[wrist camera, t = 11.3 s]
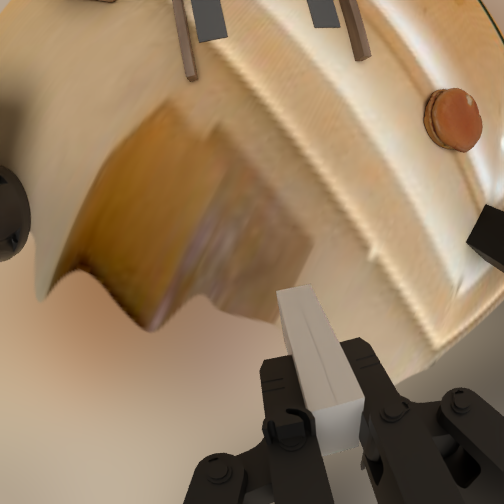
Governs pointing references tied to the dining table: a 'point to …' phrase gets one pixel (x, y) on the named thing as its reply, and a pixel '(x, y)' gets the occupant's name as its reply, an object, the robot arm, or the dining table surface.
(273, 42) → the dining table surface
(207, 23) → the pads
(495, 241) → the black tall block
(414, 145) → the dining table surface
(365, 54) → the u-shaped frame
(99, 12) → the dining table surface
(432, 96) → the burger
